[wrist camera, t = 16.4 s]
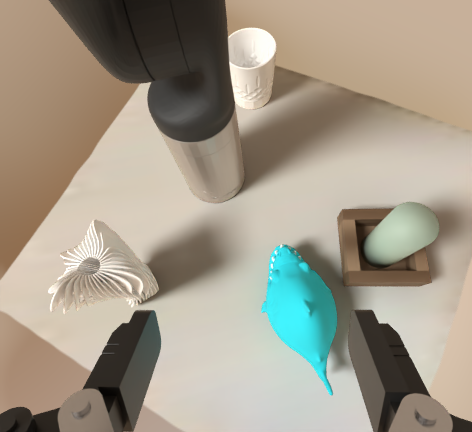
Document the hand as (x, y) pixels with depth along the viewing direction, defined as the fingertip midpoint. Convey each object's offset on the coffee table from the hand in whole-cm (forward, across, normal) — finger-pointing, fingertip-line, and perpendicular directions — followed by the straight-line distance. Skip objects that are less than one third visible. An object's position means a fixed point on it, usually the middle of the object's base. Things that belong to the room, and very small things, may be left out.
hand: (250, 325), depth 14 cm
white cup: (+51, +1, -4) cm, 51 cm away
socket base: (+31, -16, +16) cm, 38 cm away
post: (+30, -17, +16) cm, 38 cm away
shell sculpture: (+28, +18, +19) cm, 38 cm away
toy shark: (+25, -5, +22) cm, 34 cm away
